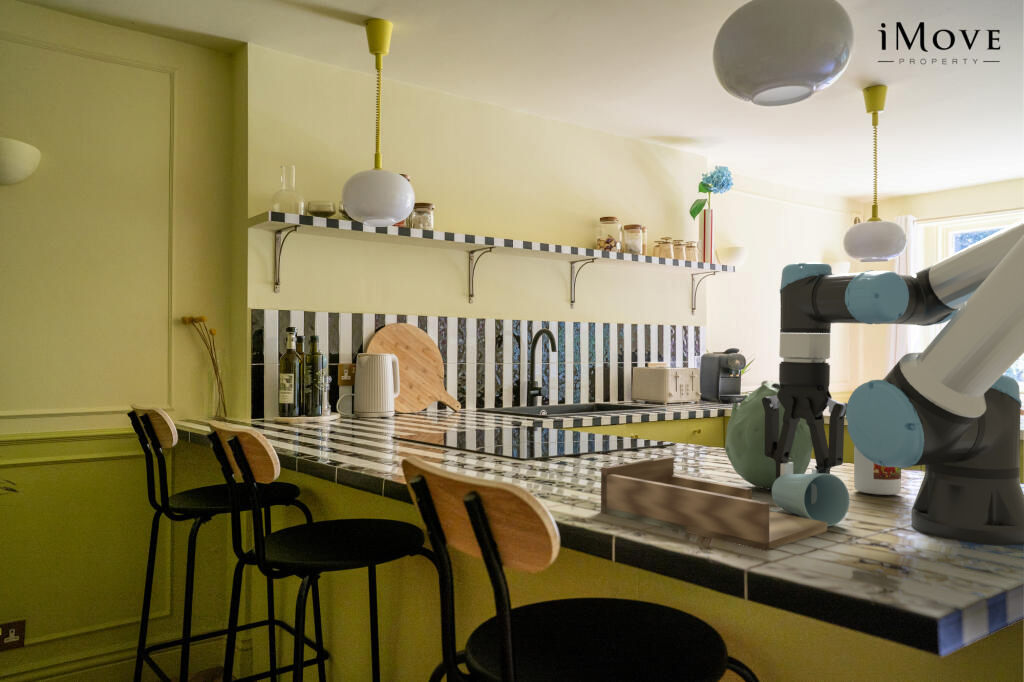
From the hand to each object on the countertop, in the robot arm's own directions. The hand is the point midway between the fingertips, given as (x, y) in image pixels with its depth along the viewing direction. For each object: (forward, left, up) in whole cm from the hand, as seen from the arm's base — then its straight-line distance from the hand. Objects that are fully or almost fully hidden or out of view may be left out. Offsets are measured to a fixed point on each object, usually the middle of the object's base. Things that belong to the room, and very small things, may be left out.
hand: (801, 505), depth 117 cm
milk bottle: (-1, -27, -1) cm, 27 cm away
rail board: (+5, +18, -1) cm, 19 cm away
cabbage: (+14, -14, -1) cm, 20 cm away
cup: (-1, 0, -1) cm, 1 cm away
